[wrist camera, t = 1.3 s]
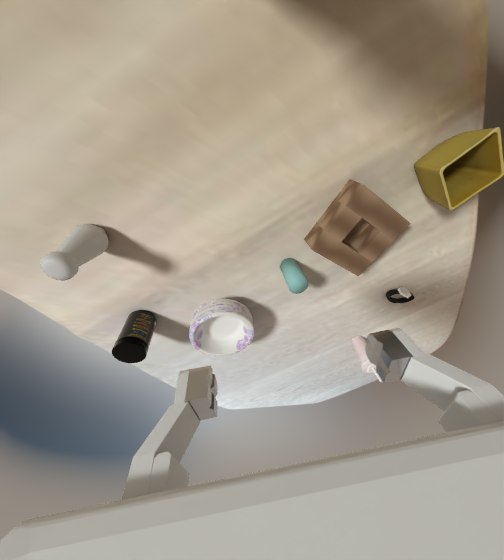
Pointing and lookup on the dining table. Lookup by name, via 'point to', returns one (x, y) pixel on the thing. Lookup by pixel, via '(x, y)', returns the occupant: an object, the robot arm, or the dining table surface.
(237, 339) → the paper bowls
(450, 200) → the flower pot
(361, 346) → the smoothie
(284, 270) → the dowel
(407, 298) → the watch
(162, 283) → the dining table surface
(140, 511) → the robot arm
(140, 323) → the supplement container
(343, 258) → the bore block
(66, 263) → the salt shaker
